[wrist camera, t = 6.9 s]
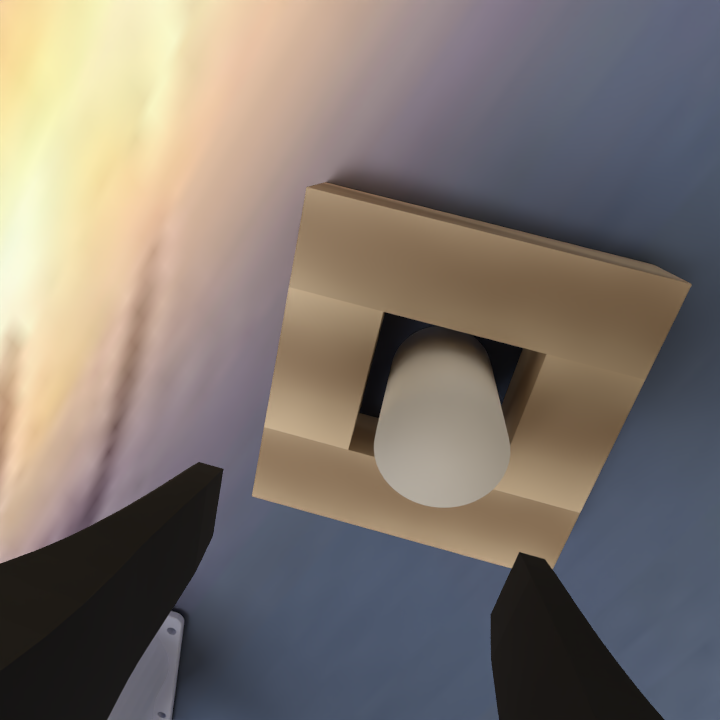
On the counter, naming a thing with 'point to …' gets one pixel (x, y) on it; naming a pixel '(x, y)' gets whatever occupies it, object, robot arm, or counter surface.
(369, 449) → the socket block
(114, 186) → the counter surface
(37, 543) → the counter surface
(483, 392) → the peg
